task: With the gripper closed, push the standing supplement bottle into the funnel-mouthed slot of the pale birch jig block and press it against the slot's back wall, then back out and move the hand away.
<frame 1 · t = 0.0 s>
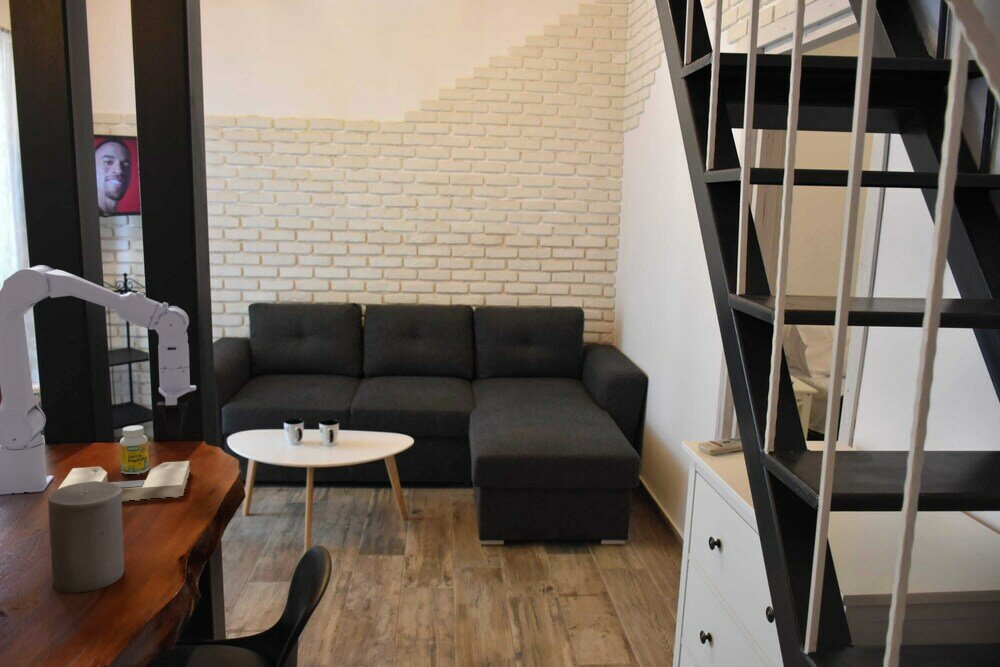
hand: (176, 429, 151), 10 cm above the table, tool pointing down, fingers open, 7 cm apart
pillar candle: (90, 578, 110), on the table
supplement bottle: (135, 471, 154), on the table
jig block: (126, 488, 145), on the table
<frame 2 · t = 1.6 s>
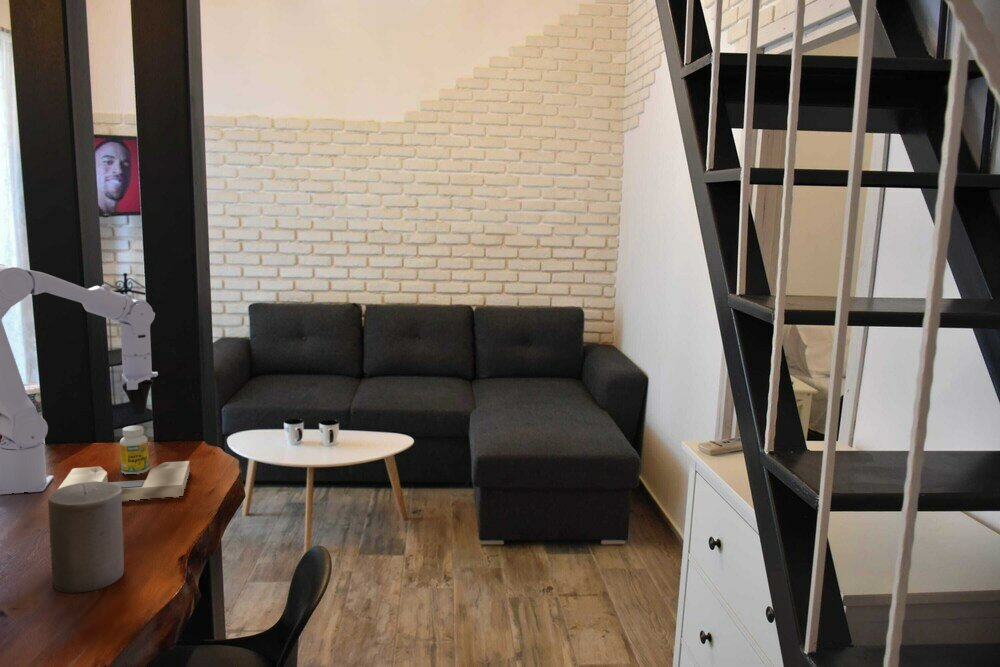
hand: (139, 413, 160), 10 cm above the table, tool pointing down, fingers closed
nothing on the table moved.
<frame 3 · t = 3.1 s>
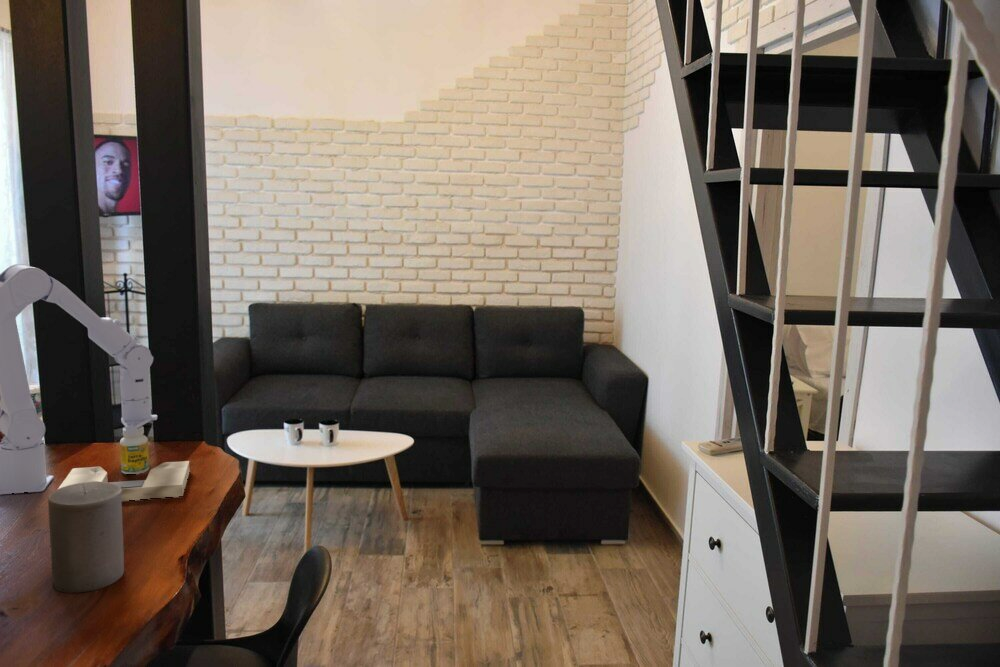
hand: (138, 457, 158), 1 cm above the table, tool pointing down, fingers closed
supplement bottle: (135, 471, 154), on the table, touching gripper
everything else where it was.
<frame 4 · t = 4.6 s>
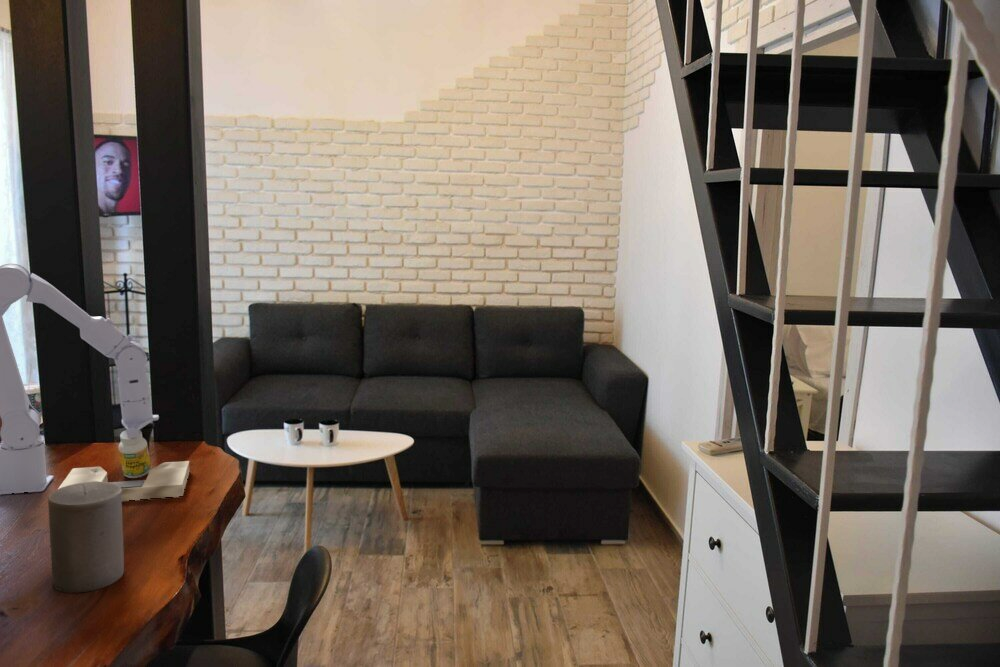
hand: (142, 459, 154), 3 cm above the table, tool pointing down, fingers closed, pressing on supplement bottle
supplement bottle: (137, 471, 152), point 1 cm above the table, touching gripper
everything else where it was.
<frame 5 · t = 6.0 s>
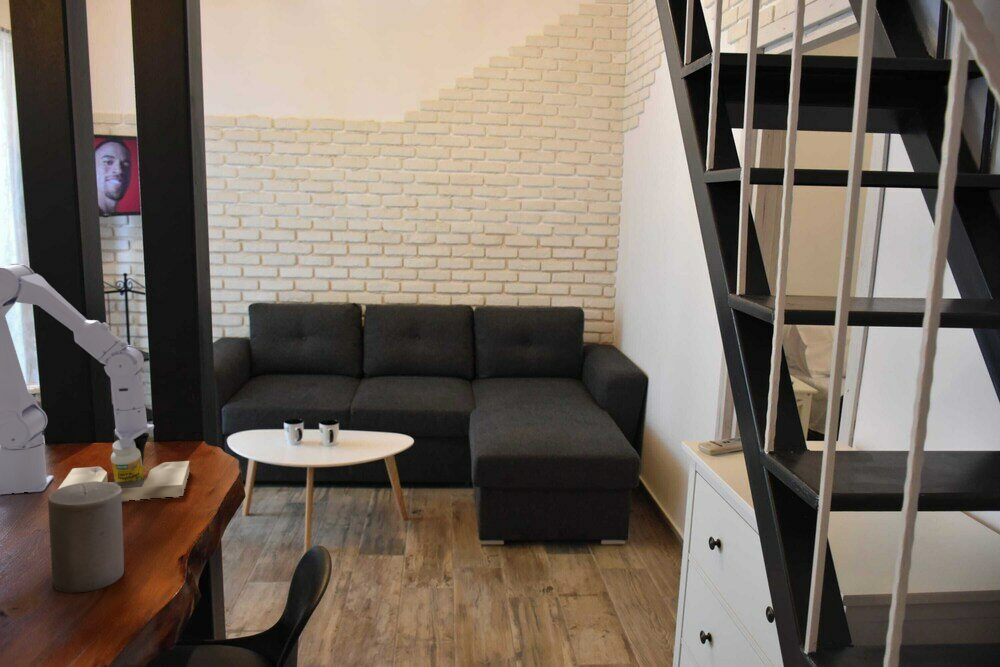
hand: (136, 470, 148), 2 cm above the table, tool pointing down, fingers closed, pressing on supplement bottle
supplement bottle: (130, 483, 146), on the table, touching gripper
everything else where it was.
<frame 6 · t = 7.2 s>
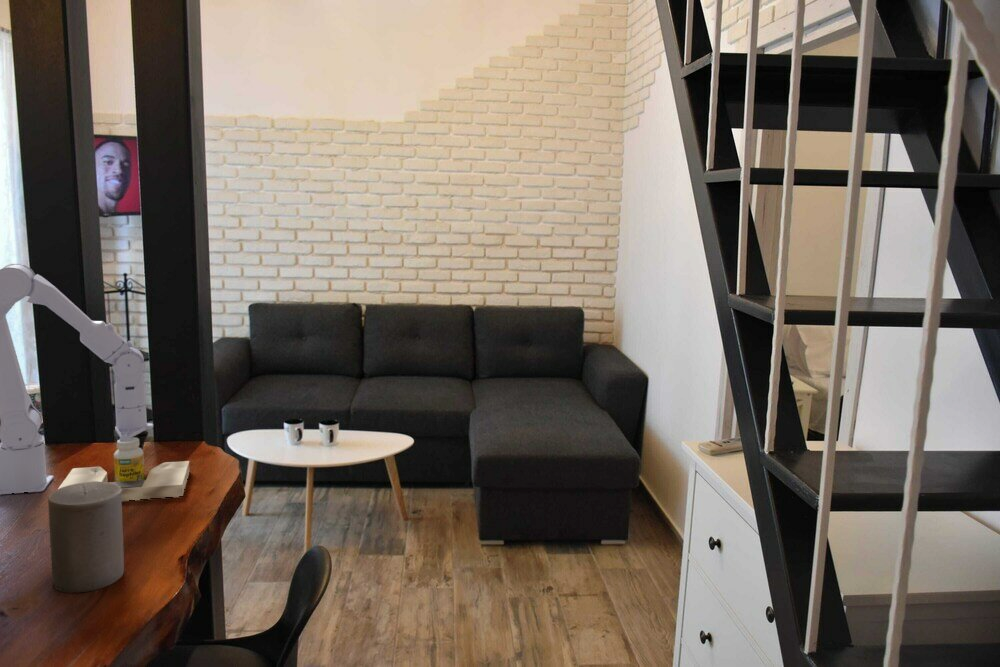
hand: (133, 467, 152), 1 cm above the table, tool pointing down, fingers closed
supplement bottle: (130, 486, 146), on the table
everything else where it was.
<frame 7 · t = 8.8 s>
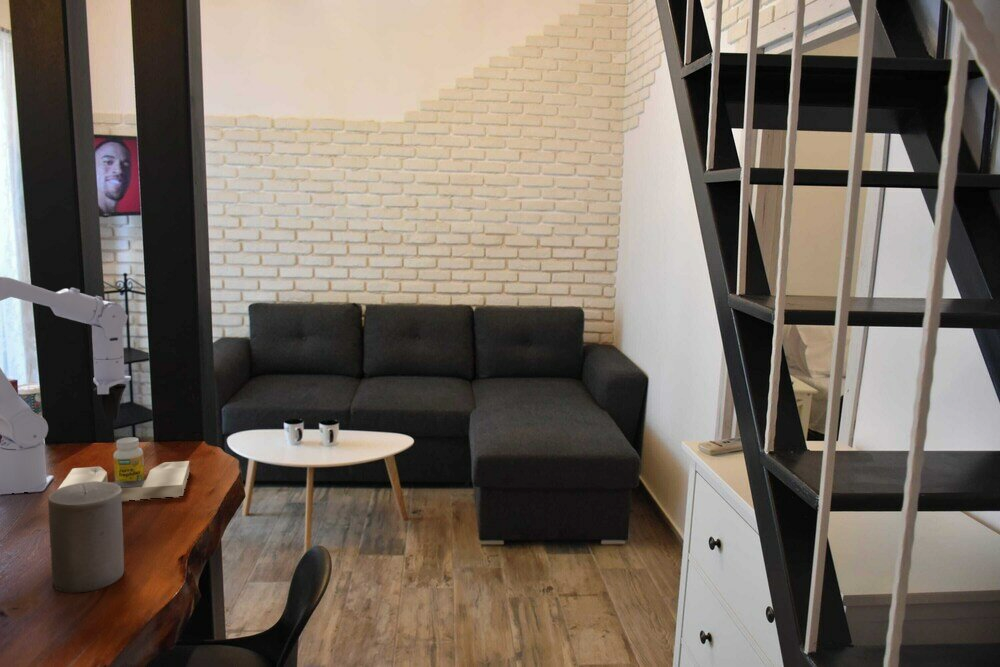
hand: (111, 418, 156), 10 cm above the table, tool pointing down, fingers closed
nothing on the table moved.
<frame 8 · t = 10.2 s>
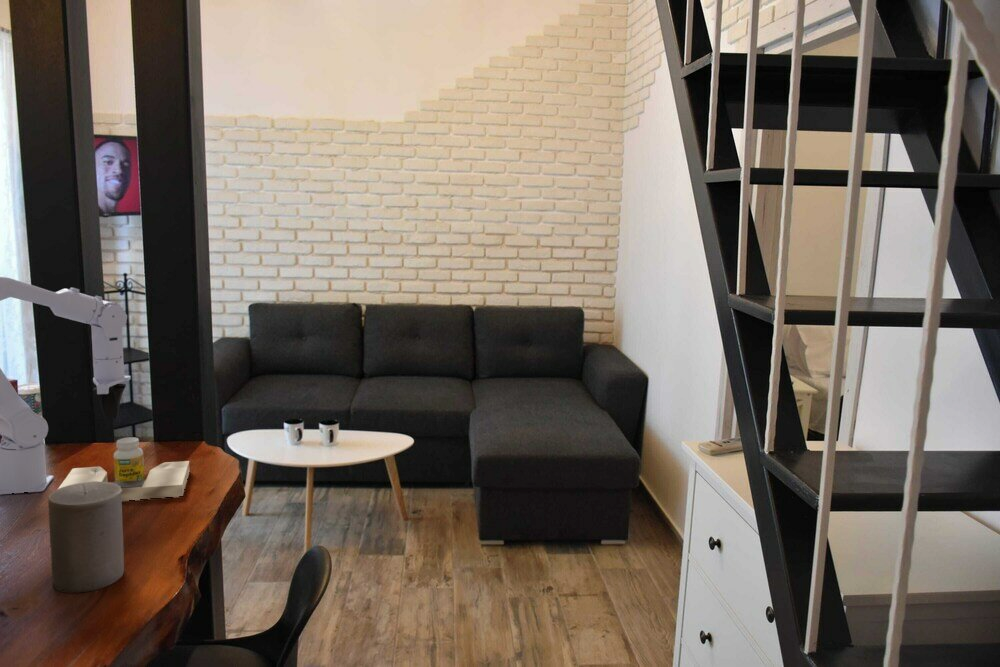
hand: (111, 418, 156), 10 cm above the table, tool pointing down, fingers closed
nothing on the table moved.
at the end: supplement bottle 1.7 cm off-centre on the jig block, point 0.0 cm above the jig block's base; supplement bottle tilted 0°; supplement bottle moved 8.6 cm from its start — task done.
